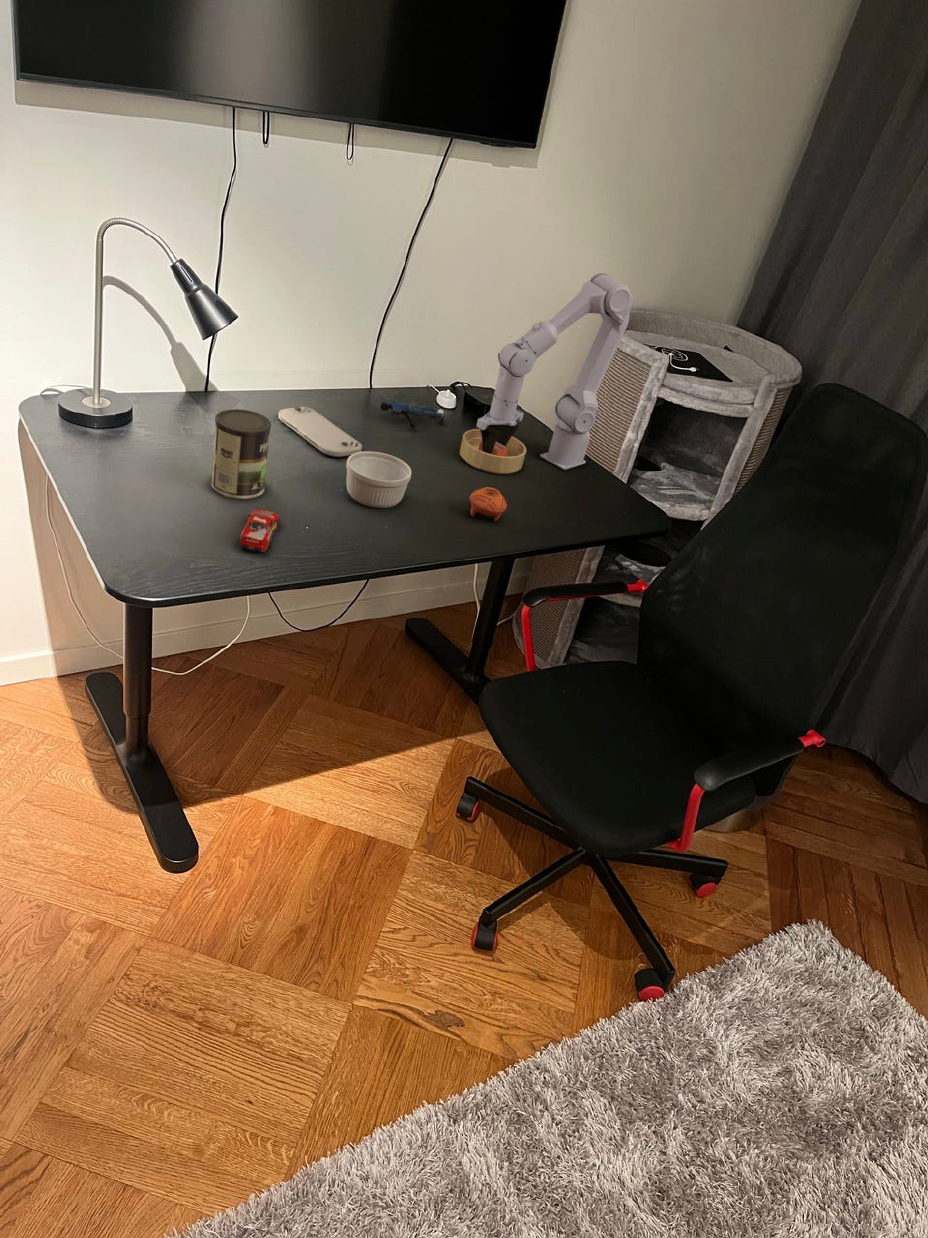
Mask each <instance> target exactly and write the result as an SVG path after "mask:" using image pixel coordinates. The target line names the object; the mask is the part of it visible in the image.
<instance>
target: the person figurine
mask: <svg viewBox="0 0 928 1238" xmlns="http://www.w3.org/2000/svg"><path fill="white" fill-rule="evenodd" d="M379 406H380V410H382V411H384V412H387V411H389V409H390V410H392V411H393V413H395V414H397V415H400V414H402V415H403V416H405V418H406V419H407V421H408V422H409V428H410V429H411V430H412V431H416V428H417V427H416V426H415V425H414V424H413V422H412V420H411V417H410V415H412V416H415V417H433V418H439V423H440V425H443V424H444V422H445V418H446V414H445V413H444V410H443V409H441V408H440V409H439V408H438V407H437V406H434V407H433V406H426V405H422V406H418V405H414V404H411V403H404V404H401V403H397V402H396V401H395V400H390V401H388V402H387V403H386V402H381V403H380V405H379Z"/></svg>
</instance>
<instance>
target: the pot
mask: <svg viewBox="0 0 928 1238" xmlns="http://www.w3.org/2000/svg"><path fill="white" fill-rule="evenodd" d="M469 503H470V505H471V507H470V516H471V517H475V515H476V514H477V513H478V514H479V515H483V516H486V517H493V521H494V522H496V521H499V518H500V517H501V516H502V514H503V513H504V512H505V511H506V510H507V507H508V506H507V501H506V499H505V497H504V495H502V494H501V491H500V490H498V489H497V488H494V487H488V486H484V487H483V488H479V489H476V490H474V491H473V492H472V493H471V494H470V496H469Z"/></svg>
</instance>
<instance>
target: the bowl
mask: <svg viewBox="0 0 928 1238" xmlns="http://www.w3.org/2000/svg"><path fill="white" fill-rule="evenodd" d="M480 442H482V435H481V431H480V428H473V429H469V430H466V431H464V433H463V435H462V438H461V443H460V446H459V455H460V457H461V458H462V460H464V461H465V462H466V463H467V464H469V466H472V467H473V468H476V469H478V470H480V471H483V472H486V473H490V474H499V475H508V474H513V473H516V472H519V471H520V470H521V469H522V468H523V465H524V462H525V458H526V455H527V447H526V446H525V444H524V443H523V442H522V441H521V440H519V439H518V438H516V437H514V436H512V437H511V438H510V440H509V441H508V443H507V445H506V448H508V452H507V456H506V457H504V456H497V455H492V454H488V453H485V452H483V451H480V450H478V448H479V444H480Z"/></svg>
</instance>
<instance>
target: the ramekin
mask: <svg viewBox="0 0 928 1238" xmlns="http://www.w3.org/2000/svg"><path fill="white" fill-rule="evenodd" d="M345 467H346V491H347V493H348V494H349V496H350V497H351V499H352V500H354V502H356V503H359V504H360V505H363V506H367V507H370V508H376V509H389V508H392V507H395V506H397V505H398V504H399V503H400V502H401V501H402V500H403V498H404V495H405V493H406V490H407V487H408V484H409V482H410V481H411V479H412V469H411V467H410V466H409V465H408V464H407V463H406V461H404V460H402V459H400V458H398V457H396V456H394V455H391V454H388V453H384V452H380V451H379V452H378V451H369V450H368V451H364V450H363V452H358V453H354V454H352V455H351V456H349V457H347V460H346V465H345Z"/></svg>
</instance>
